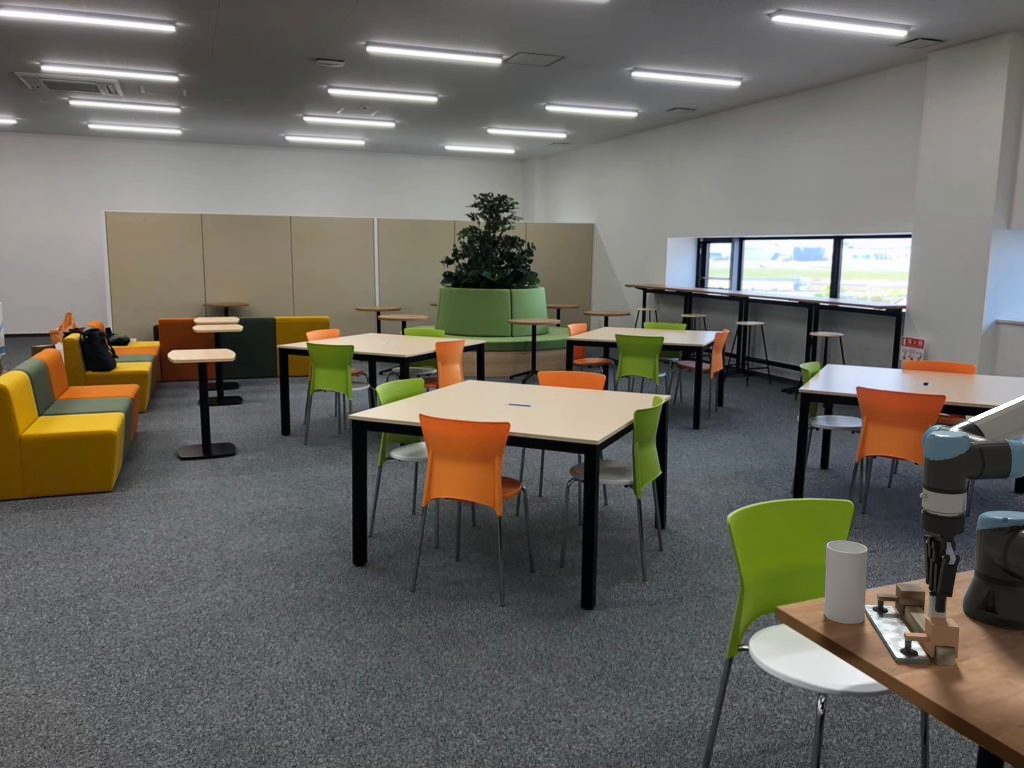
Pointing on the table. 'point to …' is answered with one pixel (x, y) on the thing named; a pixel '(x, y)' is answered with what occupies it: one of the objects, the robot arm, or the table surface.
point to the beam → (917, 624)
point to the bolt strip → (895, 635)
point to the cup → (845, 582)
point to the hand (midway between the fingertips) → (936, 625)
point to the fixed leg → (904, 597)
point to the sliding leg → (936, 635)
